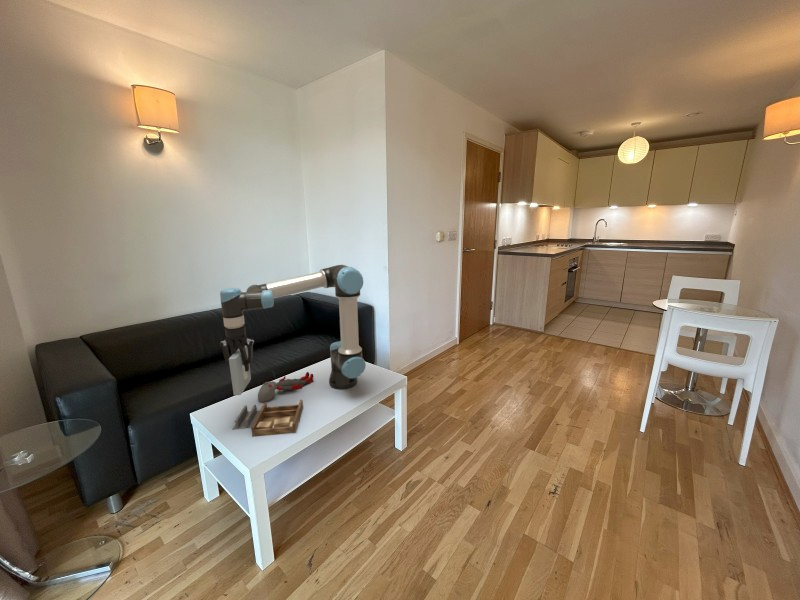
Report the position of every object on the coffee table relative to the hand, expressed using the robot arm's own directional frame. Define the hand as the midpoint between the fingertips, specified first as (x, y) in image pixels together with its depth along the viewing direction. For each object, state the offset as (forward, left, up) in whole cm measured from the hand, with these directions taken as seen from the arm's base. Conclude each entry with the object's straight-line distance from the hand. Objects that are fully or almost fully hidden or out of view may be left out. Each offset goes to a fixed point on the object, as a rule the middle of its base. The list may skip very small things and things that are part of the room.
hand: (241, 378), depth 138 cm
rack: (-14, +3, -21) cm, 25 cm away
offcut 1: (-10, +9, -20) cm, 24 cm away
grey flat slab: (0, 0, -4) cm, 4 cm away
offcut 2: (-17, +9, -18) cm, 26 cm away
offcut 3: (-17, +9, -20) cm, 28 cm away
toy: (-11, -25, -21) cm, 35 cm away
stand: (0, 0, -21) cm, 21 cm away
